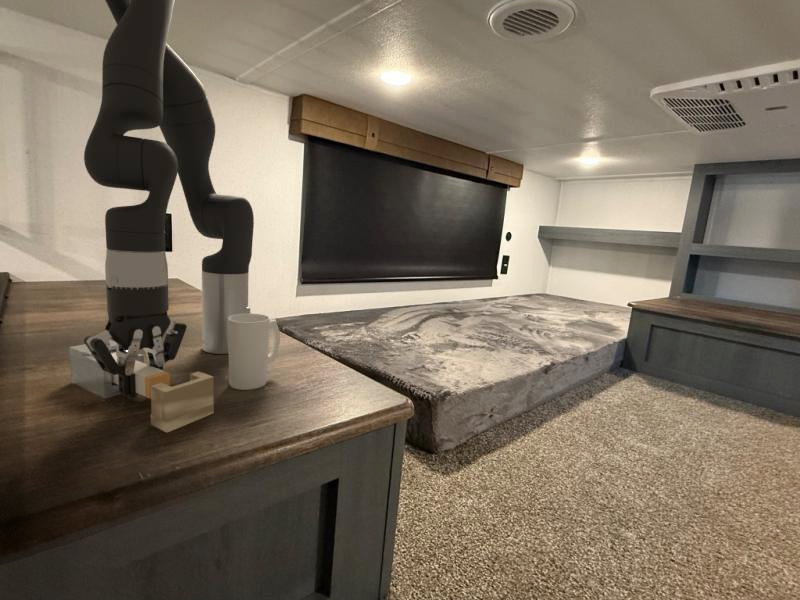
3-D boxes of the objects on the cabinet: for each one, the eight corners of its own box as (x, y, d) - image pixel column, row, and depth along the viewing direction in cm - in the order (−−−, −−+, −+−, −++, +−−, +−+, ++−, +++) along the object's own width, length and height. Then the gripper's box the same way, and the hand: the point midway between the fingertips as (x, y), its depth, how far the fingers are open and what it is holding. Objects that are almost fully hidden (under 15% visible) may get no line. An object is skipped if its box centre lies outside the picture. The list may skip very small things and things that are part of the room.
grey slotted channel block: (71, 382, 64) (69, 347, 63) (111, 372, 69) (109, 339, 68) (105, 398, 59) (103, 360, 58) (144, 386, 64) (143, 351, 63)
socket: (150, 424, 53) (149, 385, 52) (198, 406, 59) (197, 371, 58) (167, 432, 51) (166, 392, 50) (213, 413, 58) (213, 376, 57)
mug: (242, 394, 65) (243, 324, 62) (219, 383, 68) (219, 316, 66) (290, 378, 73) (292, 316, 71) (267, 369, 76) (268, 309, 74)
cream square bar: (84, 369, 64) (83, 352, 64) (105, 364, 67) (104, 348, 66) (149, 398, 56) (148, 378, 56) (169, 391, 59) (169, 372, 58)
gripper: (169, 275, 64) (171, 373, 67) (66, 281, 52) (74, 402, 55) (199, 281, 61) (200, 384, 64) (96, 289, 49) (103, 417, 52)
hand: (142, 392), depth 59 cm, fingers closed on cream square bar, 3 cm apart
